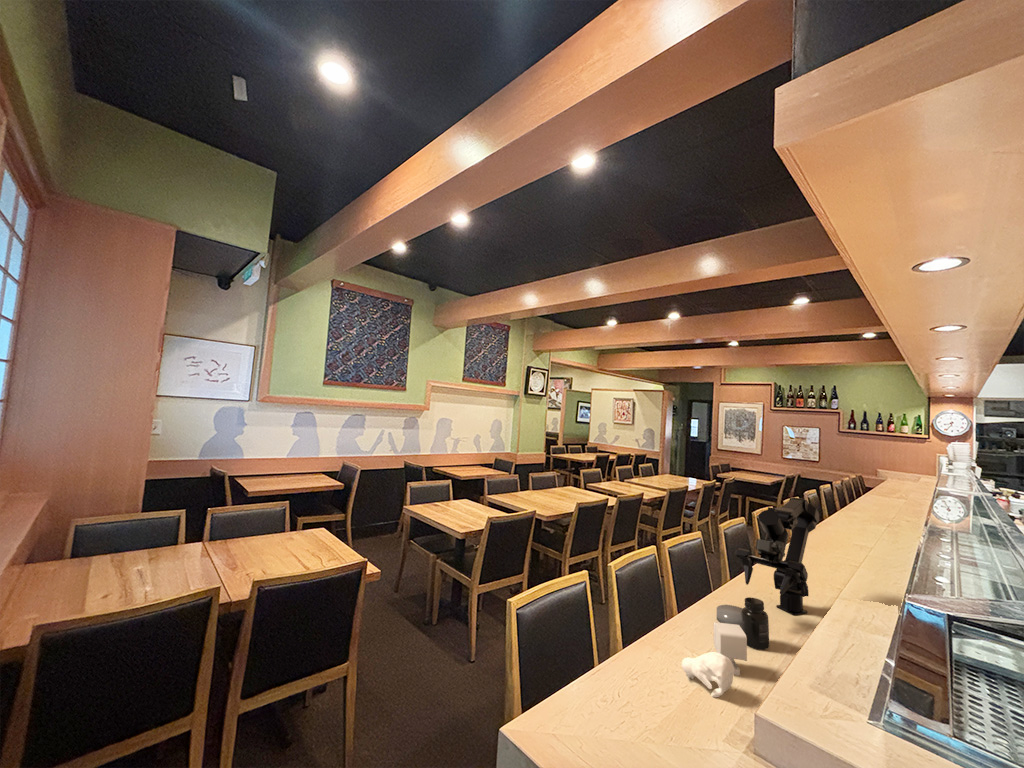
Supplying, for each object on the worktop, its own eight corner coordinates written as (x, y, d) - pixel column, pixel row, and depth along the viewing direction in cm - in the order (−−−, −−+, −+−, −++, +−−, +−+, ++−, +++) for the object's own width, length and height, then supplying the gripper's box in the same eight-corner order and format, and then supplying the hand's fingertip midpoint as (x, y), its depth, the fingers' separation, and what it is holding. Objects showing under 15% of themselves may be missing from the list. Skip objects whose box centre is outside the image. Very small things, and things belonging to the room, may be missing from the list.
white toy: (723, 663, 95) (674, 645, 104) (727, 705, 94) (677, 682, 103) (735, 653, 99) (687, 637, 108) (739, 693, 97) (690, 673, 107)
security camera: (747, 678, 104) (747, 636, 105) (717, 673, 105) (716, 632, 106) (739, 663, 110) (738, 623, 111) (710, 659, 112) (710, 620, 112)
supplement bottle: (766, 640, 122) (765, 597, 123) (772, 653, 115) (771, 607, 116) (739, 635, 124) (739, 594, 125) (743, 647, 118) (743, 603, 119)
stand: (733, 612, 139) (733, 603, 139) (760, 627, 130) (760, 617, 130) (709, 616, 136) (709, 606, 136) (735, 631, 126) (734, 621, 127)
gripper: (736, 522, 137) (722, 564, 129) (803, 535, 123) (793, 584, 115) (746, 542, 142) (733, 584, 134) (812, 557, 128) (802, 605, 120)
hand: (763, 588), depth 126 cm, fingers open, 9 cm apart
